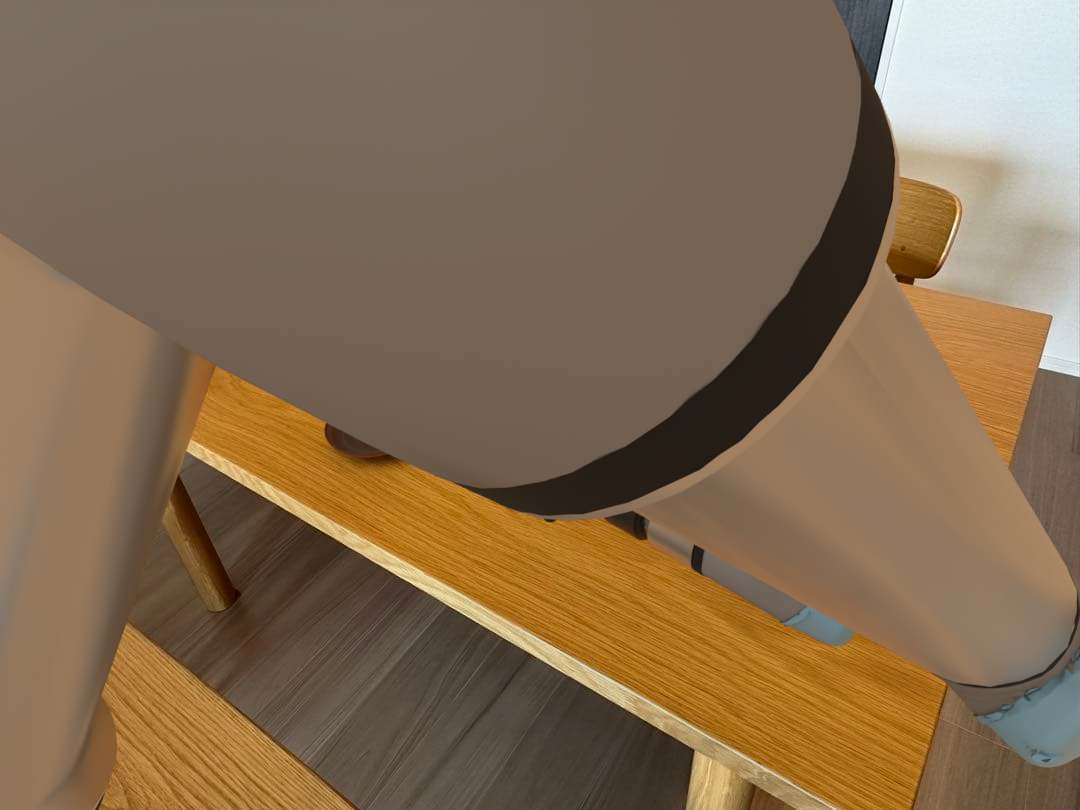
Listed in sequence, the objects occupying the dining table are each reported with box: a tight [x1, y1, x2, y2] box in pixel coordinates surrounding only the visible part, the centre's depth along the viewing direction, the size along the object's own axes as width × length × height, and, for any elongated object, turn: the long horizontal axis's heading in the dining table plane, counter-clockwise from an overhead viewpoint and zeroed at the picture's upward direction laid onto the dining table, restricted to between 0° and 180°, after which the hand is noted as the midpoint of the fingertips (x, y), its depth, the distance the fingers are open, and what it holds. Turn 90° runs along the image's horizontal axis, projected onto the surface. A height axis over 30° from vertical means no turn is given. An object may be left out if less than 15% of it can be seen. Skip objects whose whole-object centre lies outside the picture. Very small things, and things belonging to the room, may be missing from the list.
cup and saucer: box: [324, 422, 388, 459], centre depth 82 cm, size 12×12×6 cm
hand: (459, 392), depth 66 cm, fingers closed on pill bottle, 5 cm apart
